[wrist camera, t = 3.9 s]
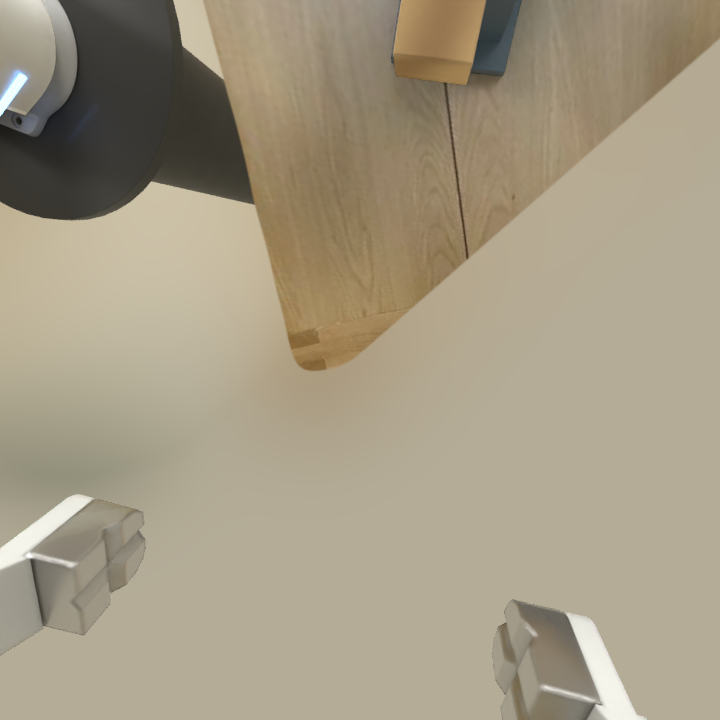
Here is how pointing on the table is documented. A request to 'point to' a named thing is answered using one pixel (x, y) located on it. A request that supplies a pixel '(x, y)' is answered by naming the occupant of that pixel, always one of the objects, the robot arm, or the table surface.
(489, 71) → the pedestal stand
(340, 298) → the table surface
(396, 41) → the mallet
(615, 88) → the table surface
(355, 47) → the table surface
